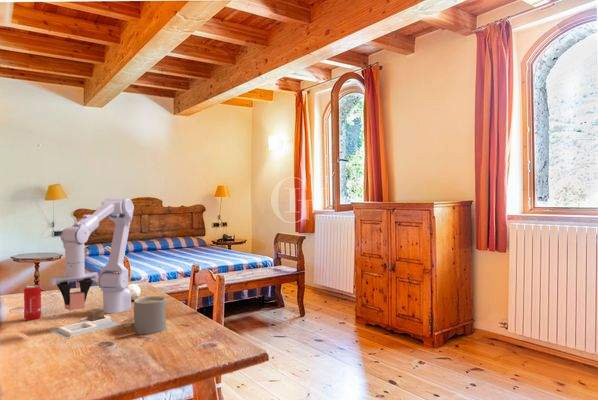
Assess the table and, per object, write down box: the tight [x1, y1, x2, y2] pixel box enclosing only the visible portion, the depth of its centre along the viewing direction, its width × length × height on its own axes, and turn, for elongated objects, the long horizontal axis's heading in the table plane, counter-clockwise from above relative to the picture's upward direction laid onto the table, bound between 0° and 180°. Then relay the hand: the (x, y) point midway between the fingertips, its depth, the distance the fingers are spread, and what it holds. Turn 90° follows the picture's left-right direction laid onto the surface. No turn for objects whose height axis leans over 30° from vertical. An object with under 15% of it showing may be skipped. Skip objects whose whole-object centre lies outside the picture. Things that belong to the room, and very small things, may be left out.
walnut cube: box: [86, 307, 105, 322], centre depth 145 cm, size 4×4×4 cm
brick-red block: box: [64, 290, 86, 311], centre depth 140 cm, size 4×4×5 cm
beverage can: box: [23, 284, 42, 322], centre depth 152 cm, size 5×5×12 cm
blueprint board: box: [47, 314, 122, 339], centre depth 139 cm, size 18×14×2 cm
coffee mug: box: [133, 295, 167, 335], centre depth 141 cm, size 13×10×10 cm
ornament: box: [126, 281, 142, 302], centre depth 179 cm, size 7×7×8 cm
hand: (75, 302), depth 139 cm, fingers closed on brick-red block, 4 cm apart
